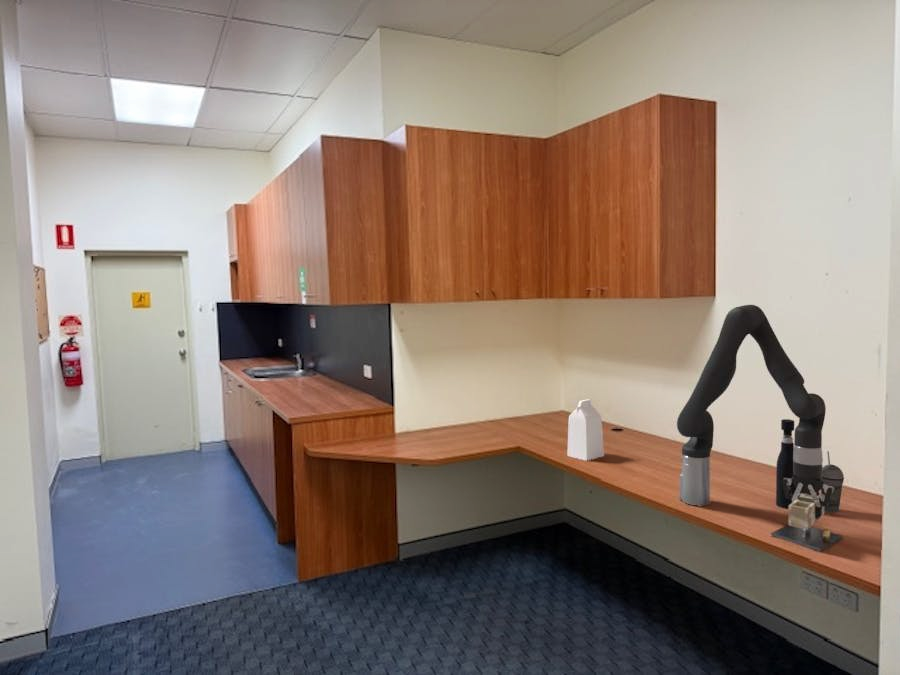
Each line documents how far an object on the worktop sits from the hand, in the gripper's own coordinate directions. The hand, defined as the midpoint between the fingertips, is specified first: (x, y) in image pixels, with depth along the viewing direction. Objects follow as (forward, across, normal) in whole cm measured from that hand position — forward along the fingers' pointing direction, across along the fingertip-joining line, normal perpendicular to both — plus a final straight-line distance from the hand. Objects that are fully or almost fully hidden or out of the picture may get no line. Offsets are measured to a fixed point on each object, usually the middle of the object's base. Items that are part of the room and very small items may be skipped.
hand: (807, 515), depth 180 cm
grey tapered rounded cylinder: (+7, -1, +30) cm, 31 cm away
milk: (+7, -100, +33) cm, 105 cm away
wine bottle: (+7, -13, +25) cm, 29 cm away
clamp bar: (+1, 0, 0) cm, 1 cm away
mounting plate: (+7, 0, 0) cm, 7 cm away
